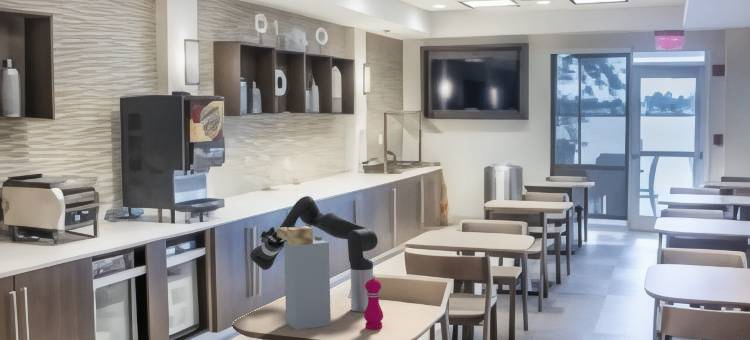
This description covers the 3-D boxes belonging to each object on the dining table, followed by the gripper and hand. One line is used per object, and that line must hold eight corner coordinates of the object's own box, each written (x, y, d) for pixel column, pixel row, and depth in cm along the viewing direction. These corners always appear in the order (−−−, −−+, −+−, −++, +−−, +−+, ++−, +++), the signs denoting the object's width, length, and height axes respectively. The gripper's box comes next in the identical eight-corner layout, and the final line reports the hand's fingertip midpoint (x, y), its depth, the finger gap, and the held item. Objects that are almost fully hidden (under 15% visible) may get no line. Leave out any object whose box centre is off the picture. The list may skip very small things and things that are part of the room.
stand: (319, 318, 322) (317, 235, 320) (330, 325, 312) (328, 239, 310) (286, 323, 316) (283, 238, 314) (296, 330, 306) (294, 242, 304)
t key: (290, 235, 329) (290, 220, 328) (312, 243, 307) (312, 228, 307) (271, 237, 325) (271, 222, 325) (292, 245, 304) (292, 229, 303)
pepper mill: (381, 330, 304) (380, 277, 302) (362, 329, 305) (361, 276, 304) (385, 325, 311) (384, 273, 310) (366, 324, 312) (365, 273, 311)
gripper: (290, 250, 338) (302, 235, 324) (257, 253, 331) (268, 238, 318) (287, 233, 341) (298, 218, 327) (254, 236, 334) (264, 221, 321)
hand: (283, 228), depth 323 cm, fingers open, 8 cm apart
